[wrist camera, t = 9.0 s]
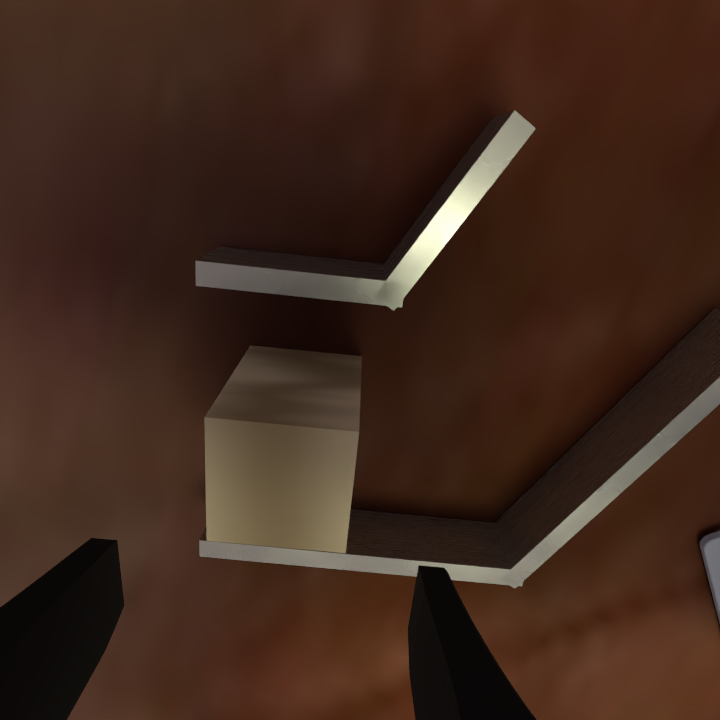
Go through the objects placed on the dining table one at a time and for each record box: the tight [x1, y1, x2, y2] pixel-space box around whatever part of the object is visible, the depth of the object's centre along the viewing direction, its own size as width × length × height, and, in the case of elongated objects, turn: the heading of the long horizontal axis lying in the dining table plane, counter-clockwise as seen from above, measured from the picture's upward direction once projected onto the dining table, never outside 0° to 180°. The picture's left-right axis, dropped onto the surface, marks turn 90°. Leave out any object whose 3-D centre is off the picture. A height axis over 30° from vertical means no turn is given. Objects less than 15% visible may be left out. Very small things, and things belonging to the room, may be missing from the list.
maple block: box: [205, 345, 362, 553], centre depth 18 cm, size 4×4×6 cm
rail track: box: [195, 110, 720, 588], centre depth 19 cm, size 22×17×3 cm
